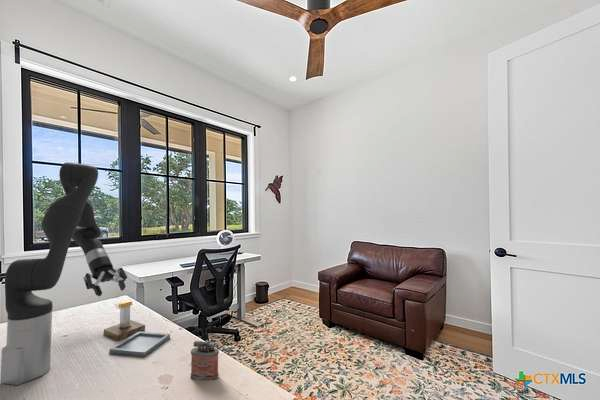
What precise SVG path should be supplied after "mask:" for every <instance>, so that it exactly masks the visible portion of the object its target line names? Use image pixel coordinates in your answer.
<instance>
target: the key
mask: <svg viewBox="0 0 600 400" xmlns="http://www.w3.org/2000/svg"><path fill="white" fill-rule="evenodd" d="M131 306H133V301H132V300H126V301H123V302H119V303H118V309H120V310H119V311H120V312H119V324H120V329H121V330H124V329H126V328H129V327H130V320H131Z"/></svg>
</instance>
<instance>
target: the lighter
mask: <svg viewBox="0 0 600 400" xmlns="http://www.w3.org/2000/svg"><path fill="white" fill-rule="evenodd" d="M215 347H216V344H215V341H210V340H209V339H206V340H205V341H203V340H194V342H193V348H192V349H191V350H190V355H191V359H190V360H191V363H190V364H191V366H190V368H191V369H190V371H191V373H190V379H191V380H194V381H200V380H201V381H202V382H203V381H204V382H208V381H207V380H213V381H216V380H218V379H219V377H218V376H219V353H220V350H219V348H215ZM217 378H218V379H217ZM215 379H216V380H215ZM201 381H200V382H201Z"/></svg>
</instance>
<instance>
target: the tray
mask: <svg viewBox="0 0 600 400" xmlns="http://www.w3.org/2000/svg"><path fill="white" fill-rule="evenodd" d="M170 339H171V334H170V333H163V332H162V333H161V332H148V331H141V332H137V333H136V334H134V335H131V336H129V337H126V338H125V339H123V340H122V341H121V342H119V343H117V344H115V345H114V346H112V347H111V348H109V355H120V356H130V357H139V358H140V357H141V358H145V357H147V356H148V355H149V354H150V353H152V352H153V351H154V350H157V349H158V348H159V347H160V346H161V345H163V344H165V342H167V341H168V340H170ZM166 340H167V341H166Z"/></svg>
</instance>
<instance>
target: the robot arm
mask: <svg viewBox="0 0 600 400" xmlns="http://www.w3.org/2000/svg"><path fill="white" fill-rule="evenodd" d="M58 174H59V175H58V176H59V180H60V181H59V182H60V183H61V187H62V189H63V191H64V193H65V195H63V196H61V197H60V198H59V199H57V200H55V201H54V202H52V203H51V204H50V205H49V207H47V209H46V212H45V214H44V216H43V218H42V220H41V228H42V232H43V234H44V235H45V237H46V239H47V241H48V243H49V244H48V245H49V250H48V254H47V256H45V257H43V258H42V257H41V258H23V259H17V260H14V261H12V262H11V263H10V264H9V266H8V267H7V268H6V272H5V277H4V298H5V299H4V300H5V302H4V303H5V311H6V313H7V321H6V322H7V324H6V346H3V347H2V348H1V357H0V359H1V360H0V361H1V364H0V384H4V385H13V386H20V385H21V384H23V383H27V382H30V381H33V380H36V379H37V378H40V377H42V376H43V375H45V374H46V373H48V372H49V371H50V369H51V361H52V360H51V359H52V358H51V356H52V355H51V354H52V331H53V329H52V326H53V324H52V323H53V306H54V305H53V301H52V300H50V299H48V298H43V297H40V296H38V295H36V294H34V293H33V292H35V291H46V290H51V289H53V288H54V287H55V286H56V285H57V283H59V281H60V278H61V275H62V273H63V269H64V266H65V261H66V258H67V254H68V250H69V247H70V246H71V242H72V240H73V242H75V243H76V244H77V246H79V247H80V248H81V249H82V251H83V254H84V256H85V260H86V264H87V266H88V268H89V271H90V273H89V272H88V273H85V275H84V277H83V281H84V283H85V287H86V289H87V290H90V289H92V290H93V291H94V294H95V295H96V296H97V297H101V296H102V295H103V291H102V288H101V287H100V285H99V284H100V283H105V282H112V283H117V284H118V286H119V289H120V291H123V292H124V290H125V289H126V287H127V286H126V282H125V281H126V280H127V279H128V275H127V274H126V272H125V270H124V268H123V267H119V268H118V269H116V268H114V266H113V265H114V264H113V263H112V262H111V259H110V256H109V255H108V253H107V251H106V249H105V247H104V245H103V243H102V241H101V240H99V238H100V237H101V236H102V230H101V228H100V226H99V225H98V223H97V222H96V218H95V212H94V211H95V210H94V208H93V207H94V206H92V204H91V202H90V201H88V200H89V197H90V196H91V193H92V192H93V190H94V188H95V186H96V184H97V182H98V178H99V170H98V168H97V167H96V166H94V165H90V164H85V163H76V162H64V163H63V164H62V165H61V166H60V168H59V173H58ZM92 279H94V280H95V282H94V283H93V281H92Z"/></svg>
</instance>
